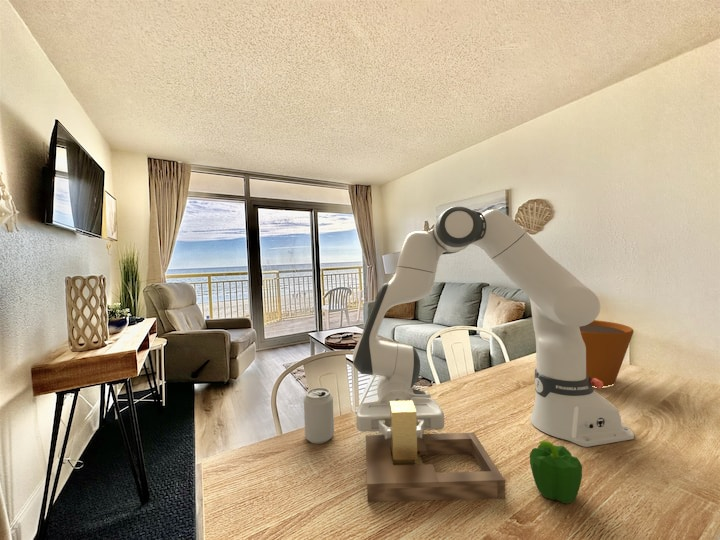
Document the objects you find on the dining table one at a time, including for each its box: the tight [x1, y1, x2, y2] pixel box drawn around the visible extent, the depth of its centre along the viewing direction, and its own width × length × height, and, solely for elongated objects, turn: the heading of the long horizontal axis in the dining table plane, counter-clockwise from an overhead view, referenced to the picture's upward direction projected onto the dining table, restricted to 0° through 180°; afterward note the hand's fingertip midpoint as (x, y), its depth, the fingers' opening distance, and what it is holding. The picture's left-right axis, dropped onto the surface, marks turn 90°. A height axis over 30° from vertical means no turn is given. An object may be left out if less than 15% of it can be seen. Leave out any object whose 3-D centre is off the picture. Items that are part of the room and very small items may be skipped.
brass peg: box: [390, 401, 424, 465], centre depth 66 cm, size 8×8×14 cm
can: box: [303, 387, 335, 445], centre depth 80 cm, size 8×8×12 cm
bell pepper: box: [529, 440, 583, 505], centre depth 59 cm, size 8×8×10 cm
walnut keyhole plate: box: [365, 432, 506, 503], centre depth 66 cm, size 26×16×4 cm, turn 90°
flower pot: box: [579, 319, 634, 386], centre depth 111 cm, size 24×24×20 cm
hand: (403, 435), depth 65 cm, fingers closed on brass peg, 5 cm apart
